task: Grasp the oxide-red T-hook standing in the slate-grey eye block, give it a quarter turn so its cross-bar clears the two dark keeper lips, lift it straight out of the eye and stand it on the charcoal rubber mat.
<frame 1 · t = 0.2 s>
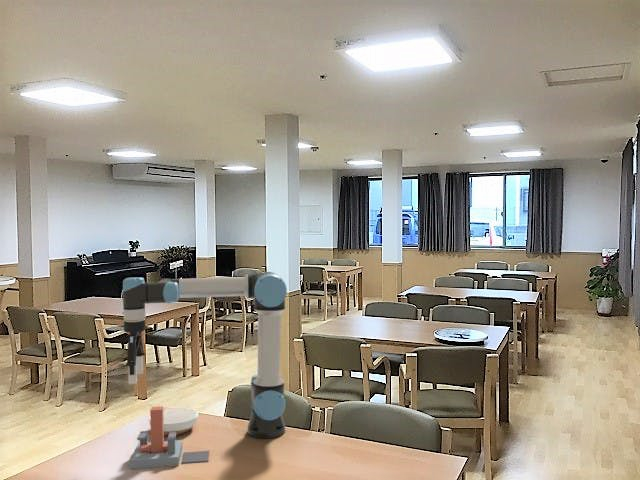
hand: (136, 378, 207), 28 cm above the table, fingers open, 13 cm apart
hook: (157, 458, 204), resting in eye block
eye block: (157, 458, 204), on the table
bowl: (174, 430, 232), on the table
mat: (195, 457, 204), on the table
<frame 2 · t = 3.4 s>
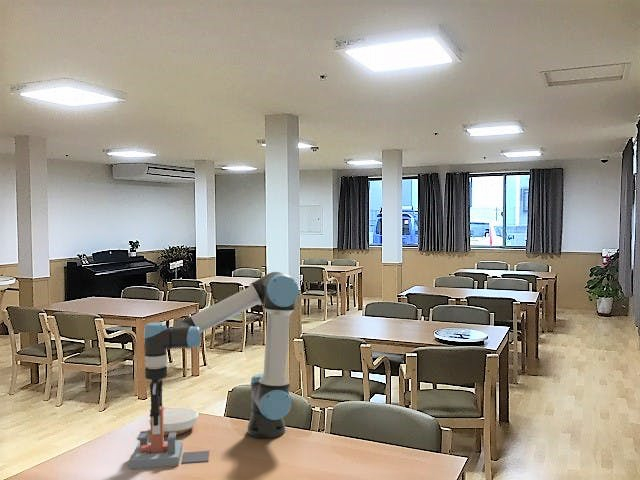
hand: (157, 431, 204), 10 cm above the table, fingers closed on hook, 4 cm apart
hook: (157, 458, 204), resting in eye block, touching gripper
everything else where it was.
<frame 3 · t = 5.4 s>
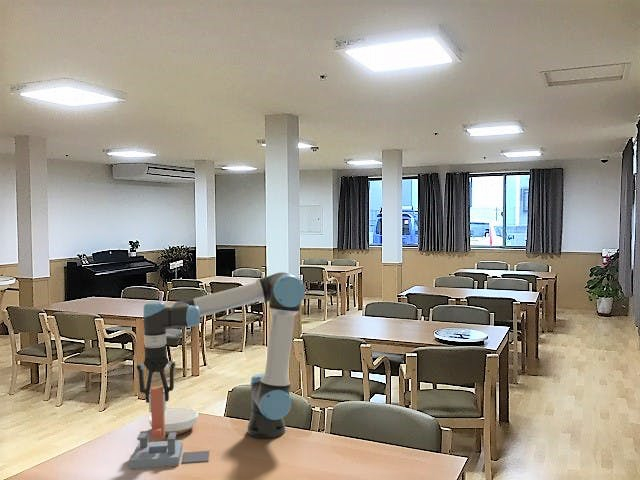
hand: (157, 410, 204), 17 cm above the table, fingers closed on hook, 4 cm apart
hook: (158, 437, 204), point 7 cm above the table, touching gripper
everything else where it was.
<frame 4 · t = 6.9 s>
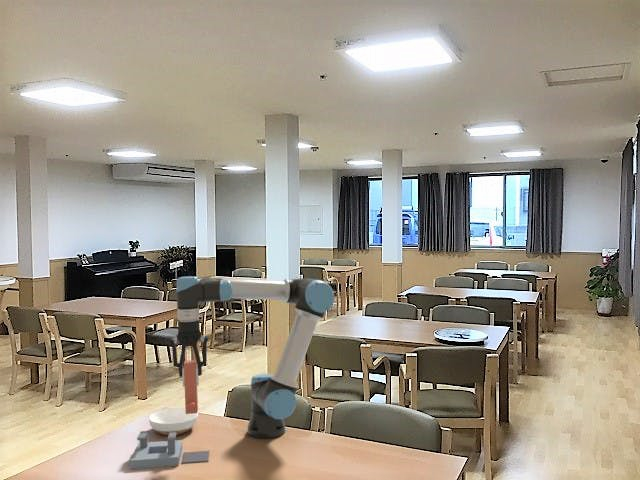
hand: (190, 385, 204), 26 cm above the table, fingers closed on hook, 4 cm apart
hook: (191, 411, 204), point 16 cm above the table, touching gripper
everything else where it was.
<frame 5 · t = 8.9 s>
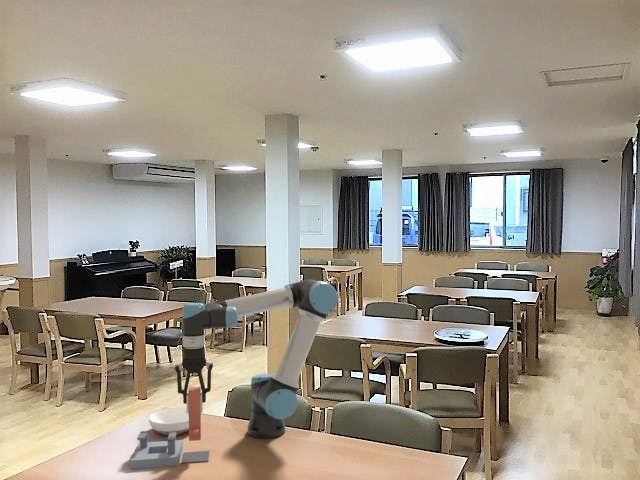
hand: (194, 411, 204), 17 cm above the table, fingers closed on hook, 4 cm apart
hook: (195, 438, 204), point 7 cm above the table, touching gripper
everything else where it was.
when the fingers open (11 cm above the table, at t = 10.6 s): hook drops 1 cm, resting on mat.
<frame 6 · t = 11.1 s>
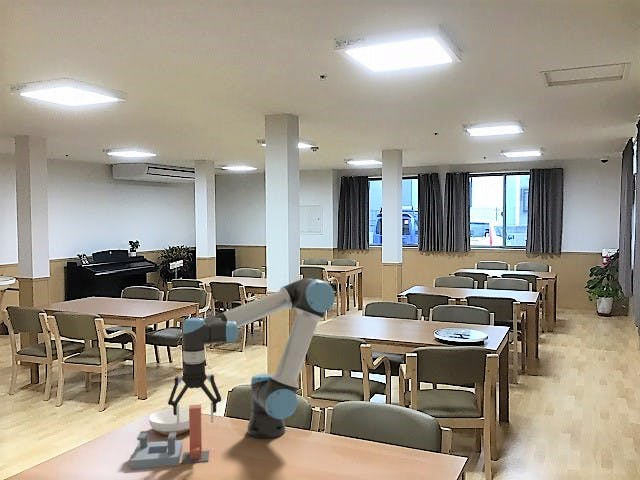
hand: (195, 422, 204), 13 cm above the table, fingers open, 11 cm apart
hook: (196, 456, 204), resting on mat
everything else where it was.
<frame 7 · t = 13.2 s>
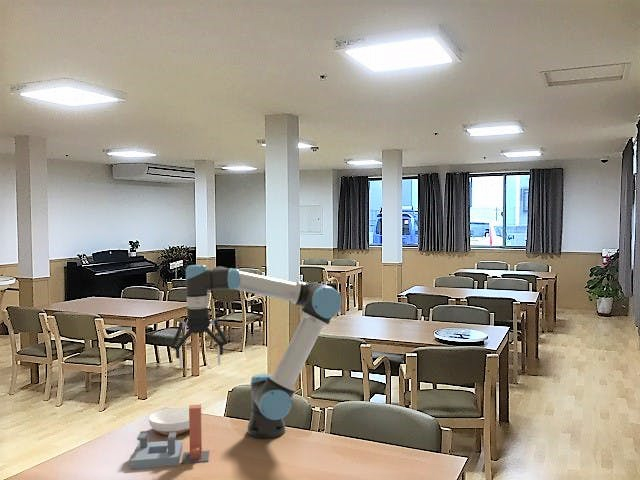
hand: (200, 365, 208), 32 cm above the table, fingers open, 13 cm apart
nothing on the table moved.
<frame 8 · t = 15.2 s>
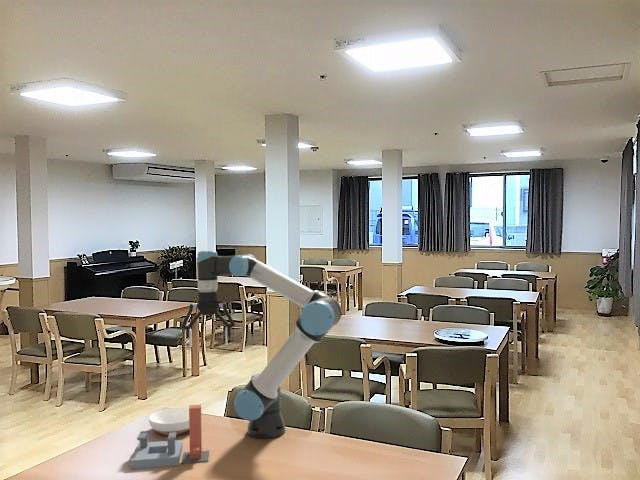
hand: (208, 345, 220), 37 cm above the table, fingers open, 13 cm apart
nothing on the table moved.
at the end: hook inside the target area on the mat (0.1 cm from its centre), point 0.4 cm above the mat's base; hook tilted 0°; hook touching mat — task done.
